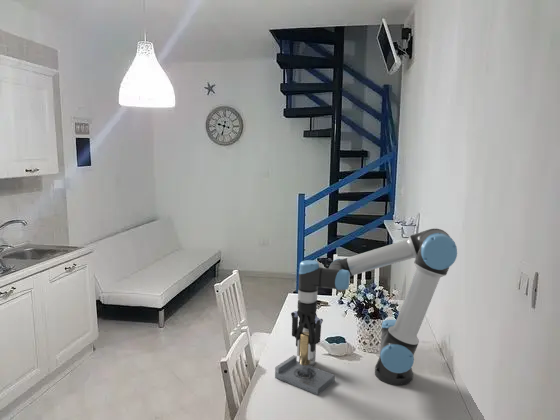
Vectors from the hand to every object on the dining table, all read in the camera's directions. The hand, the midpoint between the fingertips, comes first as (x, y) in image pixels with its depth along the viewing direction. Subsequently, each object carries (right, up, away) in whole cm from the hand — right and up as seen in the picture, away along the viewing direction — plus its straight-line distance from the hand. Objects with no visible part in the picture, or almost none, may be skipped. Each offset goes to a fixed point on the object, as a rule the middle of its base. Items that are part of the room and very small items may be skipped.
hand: (304, 356), depth 170 cm
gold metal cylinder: (0, -3, 0) cm, 3 cm away
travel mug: (+2, -8, +14) cm, 17 cm away
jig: (0, -10, +1) cm, 10 cm away
